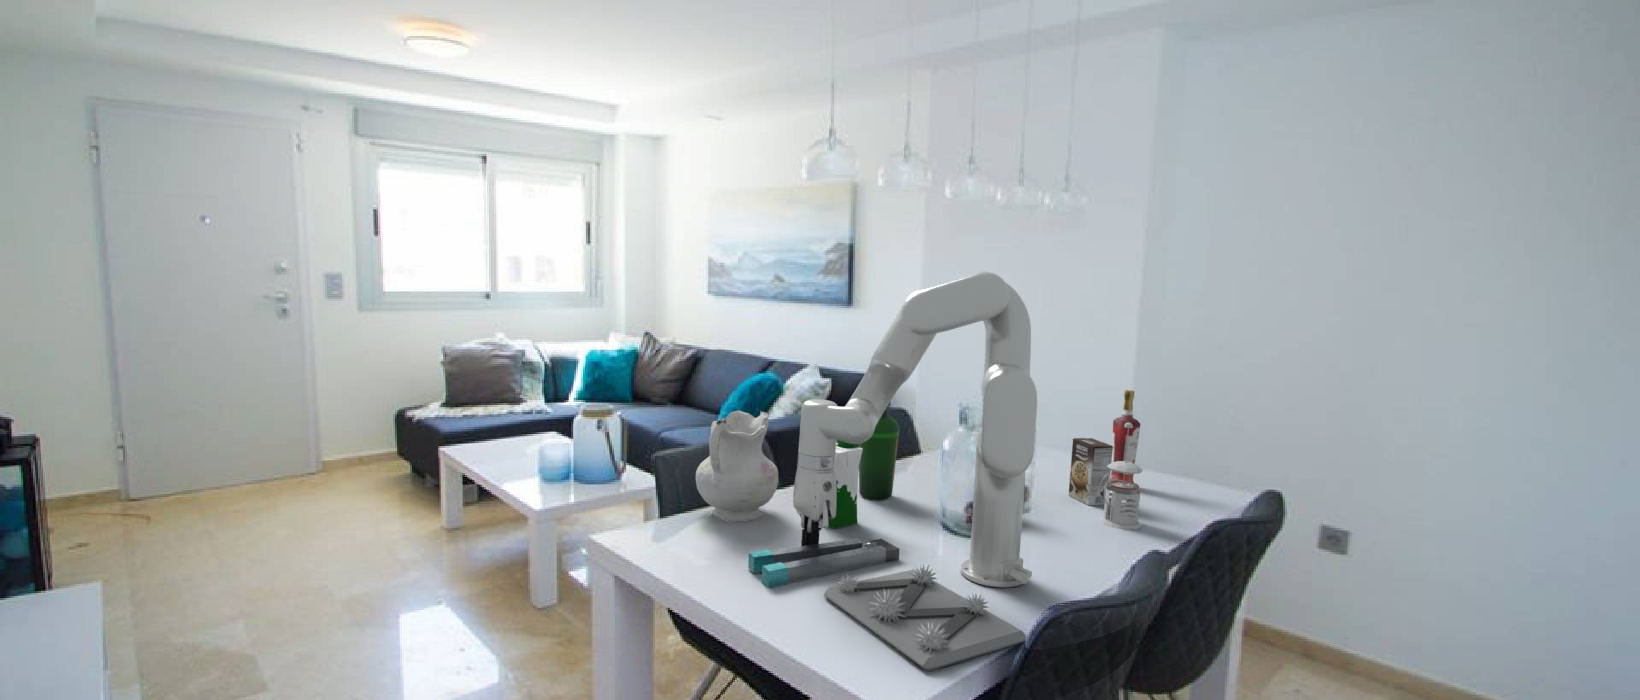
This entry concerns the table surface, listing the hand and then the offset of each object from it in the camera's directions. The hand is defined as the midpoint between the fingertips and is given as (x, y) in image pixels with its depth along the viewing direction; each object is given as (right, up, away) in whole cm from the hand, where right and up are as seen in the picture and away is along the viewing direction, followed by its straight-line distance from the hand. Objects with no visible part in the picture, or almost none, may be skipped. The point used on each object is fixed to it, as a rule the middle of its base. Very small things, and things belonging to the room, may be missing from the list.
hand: (809, 548), depth 156 cm
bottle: (+17, +2, +45) cm, 48 cm away
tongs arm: (+1, -2, -4) cm, 4 cm away
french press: (+75, -2, +31) cm, 81 cm away
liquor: (+89, +1, +64) cm, 110 cm away
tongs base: (+4, -3, -5) cm, 6 cm away
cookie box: (+74, 0, +49) cm, 89 cm away
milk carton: (+6, 0, +23) cm, 23 cm away
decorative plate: (+19, -6, -25) cm, 32 cm away
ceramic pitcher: (-18, +1, +25) cm, 31 cm away
